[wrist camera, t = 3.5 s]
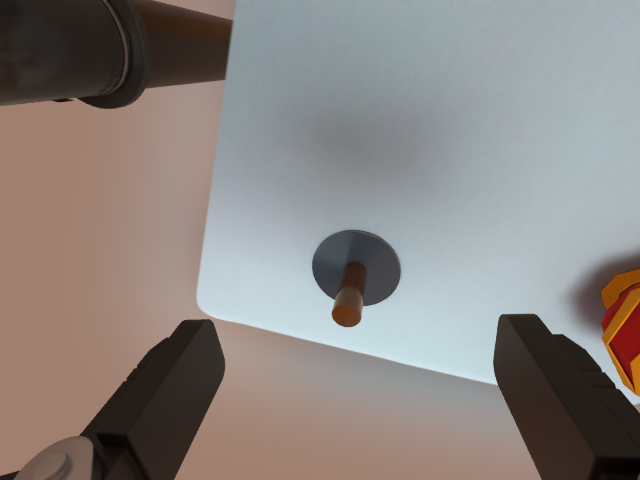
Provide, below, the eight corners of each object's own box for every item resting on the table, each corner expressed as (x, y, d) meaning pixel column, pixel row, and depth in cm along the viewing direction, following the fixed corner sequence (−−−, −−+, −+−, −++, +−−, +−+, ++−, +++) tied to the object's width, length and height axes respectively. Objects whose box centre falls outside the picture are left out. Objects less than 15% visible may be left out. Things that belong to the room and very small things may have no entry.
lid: (296, 255, 36) (274, 298, 29) (368, 213, 31) (360, 253, 25) (345, 314, 38) (334, 366, 32) (417, 283, 34) (422, 334, 28)
